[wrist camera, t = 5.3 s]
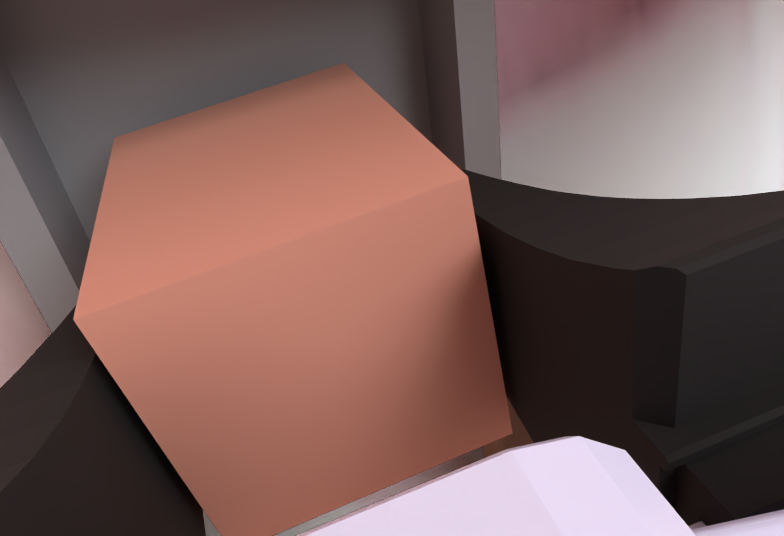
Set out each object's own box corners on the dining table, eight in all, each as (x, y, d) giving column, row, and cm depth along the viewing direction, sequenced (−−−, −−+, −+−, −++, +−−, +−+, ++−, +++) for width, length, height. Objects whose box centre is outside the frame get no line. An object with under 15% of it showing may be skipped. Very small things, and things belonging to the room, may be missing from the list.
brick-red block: (394, 251, 14) (513, 433, 9) (209, 321, 14) (232, 552, 9) (343, 62, 12) (467, 176, 7) (114, 137, 11) (73, 319, 6)
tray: (498, -314, 11) (680, -434, 7) (515, 297, 19) (608, 405, 15) (-305, -229, 9) (-695, -335, 5) (83, 428, 17) (55, 598, 13)
